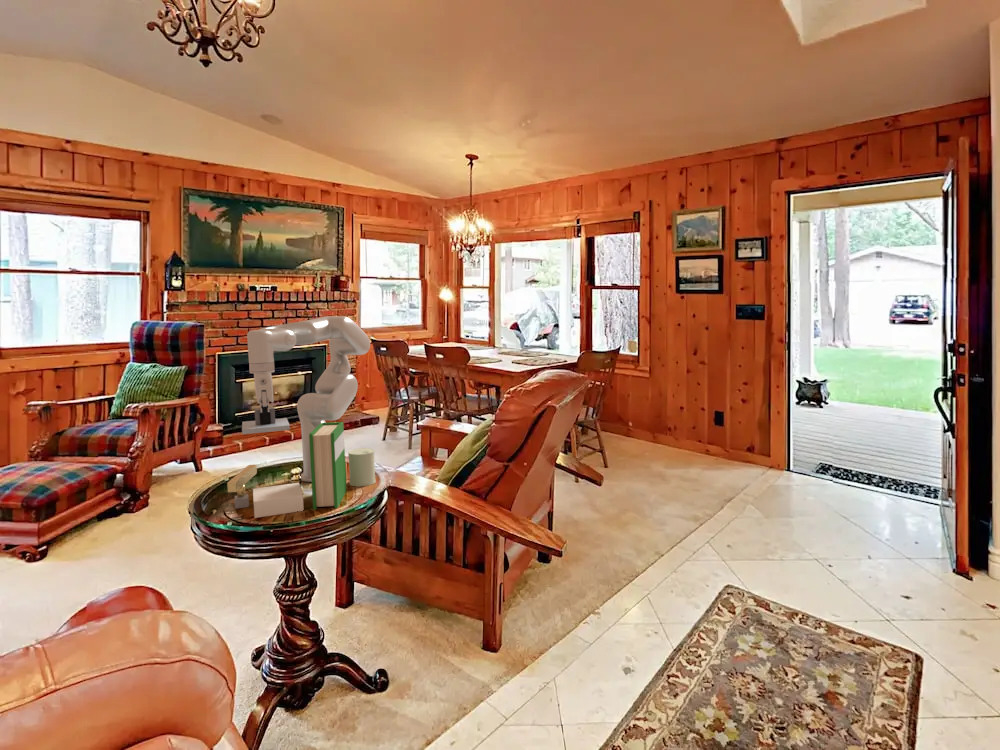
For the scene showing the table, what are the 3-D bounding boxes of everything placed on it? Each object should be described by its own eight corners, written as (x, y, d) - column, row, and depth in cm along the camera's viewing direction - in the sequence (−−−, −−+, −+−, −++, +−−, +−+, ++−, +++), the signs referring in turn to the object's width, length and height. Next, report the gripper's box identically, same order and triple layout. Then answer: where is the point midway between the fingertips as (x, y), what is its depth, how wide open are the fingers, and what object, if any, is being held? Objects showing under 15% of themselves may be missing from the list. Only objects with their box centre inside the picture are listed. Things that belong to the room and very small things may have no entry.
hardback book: (337, 508, 176) (333, 433, 174) (313, 509, 176) (309, 434, 173) (346, 490, 194) (343, 422, 191) (324, 491, 193) (320, 422, 190)
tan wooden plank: (250, 484, 192) (249, 464, 191) (257, 483, 192) (256, 464, 191) (228, 504, 172) (227, 482, 171) (237, 503, 172) (235, 482, 171)
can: (362, 488, 196) (361, 454, 195) (343, 484, 201) (342, 451, 200) (381, 481, 204) (379, 448, 203) (362, 477, 209) (361, 445, 208)
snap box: (299, 495, 189) (298, 481, 188) (303, 510, 175) (302, 495, 174) (235, 504, 181) (234, 489, 180) (234, 521, 167) (233, 504, 166)
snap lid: (286, 422, 195) (285, 403, 194) (289, 429, 182) (288, 410, 181) (242, 426, 189) (241, 407, 188) (242, 434, 176) (240, 413, 176)
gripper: (275, 369, 177) (279, 426, 179) (273, 365, 192) (276, 418, 194) (249, 371, 174) (253, 429, 176) (249, 366, 189) (252, 420, 191)
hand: (265, 422), depth 185 cm, fingers closed on snap lid, 3 cm apart
